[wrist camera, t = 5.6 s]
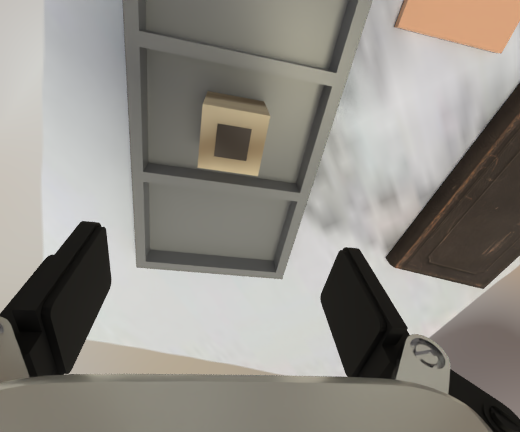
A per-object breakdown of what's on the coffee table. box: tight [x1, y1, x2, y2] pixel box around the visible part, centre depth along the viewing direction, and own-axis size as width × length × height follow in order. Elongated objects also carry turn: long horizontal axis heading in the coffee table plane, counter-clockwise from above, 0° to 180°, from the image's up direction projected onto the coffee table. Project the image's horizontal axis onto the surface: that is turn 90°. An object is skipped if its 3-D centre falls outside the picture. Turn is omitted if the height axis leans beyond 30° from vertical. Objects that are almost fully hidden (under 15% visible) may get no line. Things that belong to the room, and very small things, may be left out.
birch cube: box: [198, 91, 270, 176], centre depth 24 cm, size 5×5×5 cm
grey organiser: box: [123, 0, 372, 279], centre depth 26 cm, size 34×17×2 cm, turn 169°
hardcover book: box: [386, 84, 520, 289], centre depth 34 cm, size 16×23×2 cm
